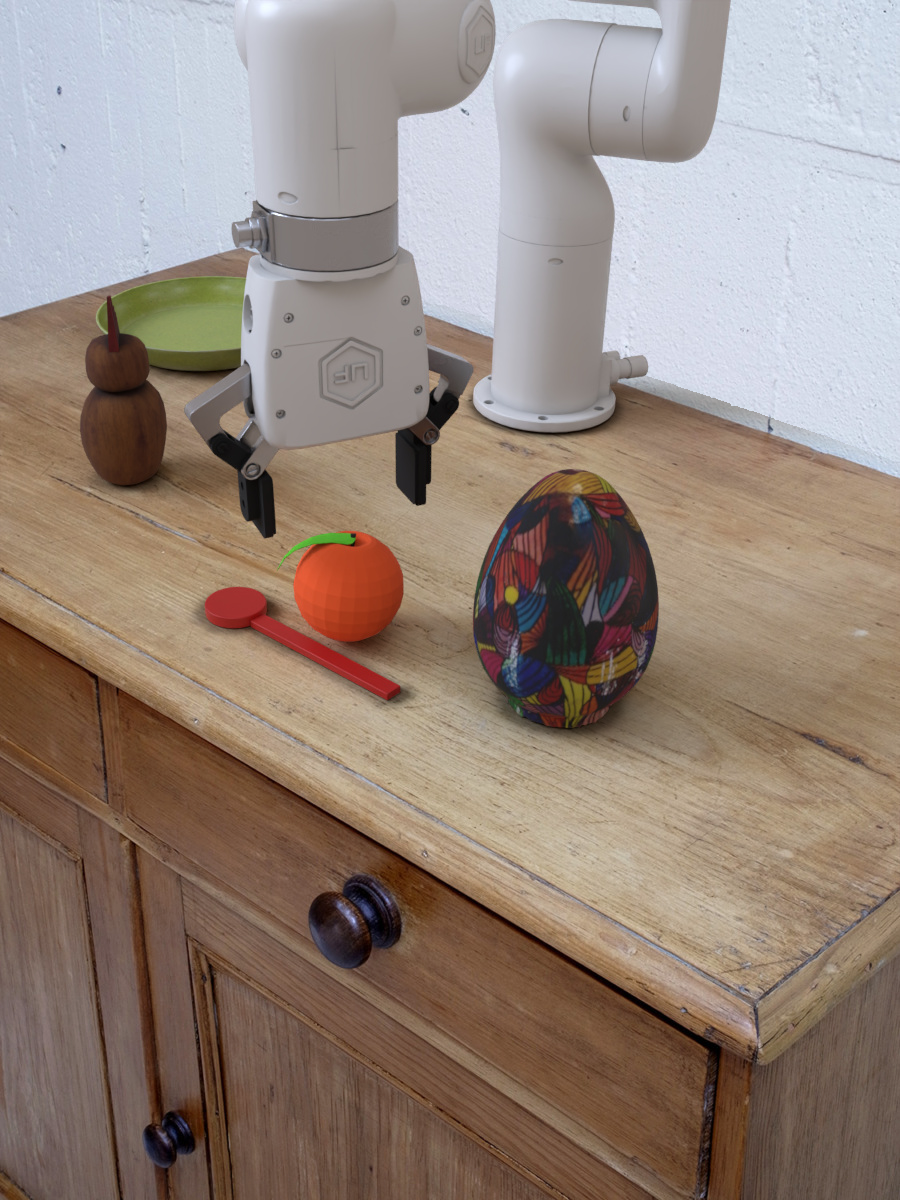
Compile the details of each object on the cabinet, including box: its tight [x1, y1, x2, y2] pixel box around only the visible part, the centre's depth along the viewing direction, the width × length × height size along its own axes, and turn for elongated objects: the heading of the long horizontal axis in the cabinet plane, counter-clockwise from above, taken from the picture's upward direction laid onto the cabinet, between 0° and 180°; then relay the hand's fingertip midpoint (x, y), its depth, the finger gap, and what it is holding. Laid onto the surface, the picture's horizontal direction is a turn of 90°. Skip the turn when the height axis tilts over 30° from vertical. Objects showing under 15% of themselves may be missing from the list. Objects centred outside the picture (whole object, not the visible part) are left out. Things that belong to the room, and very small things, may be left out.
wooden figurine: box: [79, 295, 168, 486], centre depth 99 cm, size 7×6×15 cm
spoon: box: [204, 586, 401, 701], centre depth 83 cm, size 16×4×1 cm, turn 50°
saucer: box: [95, 275, 246, 372], centre depth 127 cm, size 21×21×3 cm
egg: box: [472, 468, 660, 729], centre depth 75 cm, size 11×11×15 cm
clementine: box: [276, 530, 405, 643], centre depth 82 cm, size 8×7×7 cm
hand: (338, 511), depth 80 cm, fingers open, 9 cm apart
